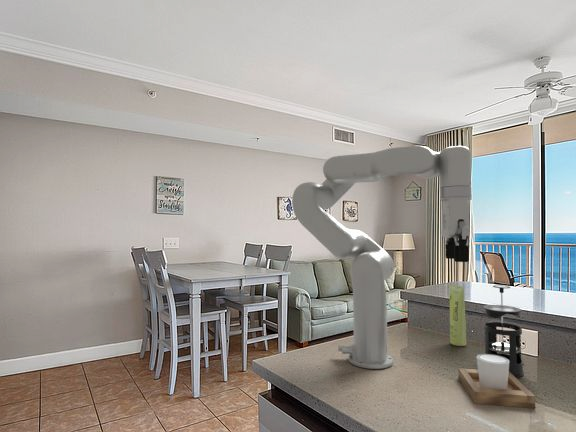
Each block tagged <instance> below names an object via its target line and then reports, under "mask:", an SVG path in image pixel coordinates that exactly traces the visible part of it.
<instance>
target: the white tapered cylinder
mask: <svg viewBox="0 0 576 432" xmlns="http://www.w3.org/2000/svg"><path fill="white" fill-rule="evenodd" d="M476 364H477V365H476V366H477V370H478V374H479V383H480V387H481V388H492V389H505V390H507V386H508V374H509V360H508V359H507V358H505V357H502V356H498V355H493V354H485V353H480V354H477V355H476Z"/></svg>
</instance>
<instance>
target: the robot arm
mask: <svg viewBox="0 0 576 432" xmlns="http://www.w3.org/2000/svg"><path fill="white" fill-rule="evenodd" d="M471 154H472V153H471V149H470V148H469V147H467V146H465V145H464V146H463V145H457V146H448V147H445V148H443V149H441V150H440V151H438V152H437V151H433V150H432V149H430V148H429V147H427V146H423V145H411V146H410V145H409V146H399V147H391V148H386V149H382V150H378V151H374V152H367V153H358V154H355V153H354V154H346V155H344V154H343V155H336V156H335V155H334V156H331V157H329V158H327V160H326V161H325V162H324V164H323V166H322V172H323V175H324V177H325V180H324V181H323V182H322V183H318V182H312V181H305V182H303V183H300V184H299V185H297V186H296V188H295V189H294V191H293V194H292V199H291V202H292V204H291V205H292V210H293V213H294V215H295V218H296V219H297V221H298V222H299V223H300V224H301V226H303V228H305V230H307V231H308V233H310V234H311V235H312V236H313V237H314V238H315V239H316V240H317V241H318V242H319V243H320V244H321V245H322V246H323V247H325V248H326V249H327V251H329V252H330V253H331V254H332V255H333V256H334V257H335V258H337V259H338V260H351V261H352V263H351V266H350V279H351V286H352V302H353V305H352V306H353V309H352V310H353V313H352V314H353V341H352V344H351V343H350V344H349V345H345V344H338V352H341V353H342V355H343V354H344V355H345V354H348V362H349V363H351V364H352V365H354V366H356V367H359V368H362V369H363V368H364V369H369V370H370V369H371V370H372V369H374V370H378V369H379V370H381V369H387V368H390V367H391V366H392V365H393V364H394V359H393V356H391V355H390V354H388V308H387V303H388V301H387V291H386V290H387V289H386V285H385V284H386V283H385V281H387V280H388V279H389V278H391V276H392V275H393V274H394V271H395V263H394V260H393V257H392V256H391V255H390V253H388V252H387V251H386V250H385V249H384V248H382V247H381V246H380V245H379V244H377V242H375V240H373V239H372V238H371V237H370V236H368V235H367V234H366V233H365V232H363V231H362V230H359V229H357V228H348V227H345V226H344V225H343V224H342V223H341V222H339V221H338V220H336V218H334V216H332V215H331V214H330V213H328V212H327V211H325V210H329V209H330V208H332V207H334V205H335V204H336V203H337V202H339V201H340V199H341V198H342V197H343V196H345V195H346V193H347V192H348V191H350V189H351V188H353V186H354V185H355V184H357V183H373V182H378V181H380V180H381V179H383V178H386V177H387V178H388V177H393V176H410V175H413V176H414V175H415V176H417V177H419V178H420V179H426V180H427V179H433V178H437V177H439V201H440V202H441V201H442V206H441V207H442V212H441V237H443V238H445V244H444V245H445V258H446V259H447V260H449V259H451V260H454V262H456V263H469V262H470V261H469V260H470V257H469V256H470V254H469V236H470V210H469V207H470V206H469V201H471V200H472V159H471V156H472V155H471Z"/></svg>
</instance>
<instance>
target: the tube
mask: <svg viewBox="0 0 576 432" xmlns="http://www.w3.org/2000/svg"><path fill="white" fill-rule="evenodd" d="M464 289H465V287H464V286H461V285H455V284H451V283H449V340H450V341H449V342H450V344H451V345H453V346H457V347H465V346H467V323H466V305H465V301H466V300H465V290H464Z"/></svg>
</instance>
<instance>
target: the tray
mask: <svg viewBox="0 0 576 432" xmlns="http://www.w3.org/2000/svg"><path fill="white" fill-rule="evenodd" d="M458 379H459V381H460V383H461V384H462V386H463V388H465V390H466V391H467V393H468V395H469V396H470V398H471V400H472V401H473V403H474V404H478V405H479V404H480V405H493V406H504V407H518V408H529V409H536V396H535V395H534V393H532V392H531V391H530V390H529V388H527V387H526V386H525V385H524V384H523V383H522V382H521V381H520V380H519V379H518V377H517V378H516V377H515V376H514V375H512V374H511V373H510V372H509V374H508V386H507V390H505V389H492V388H481V387H480V383H479V374H478V368H477V369H473V368H458Z"/></svg>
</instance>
